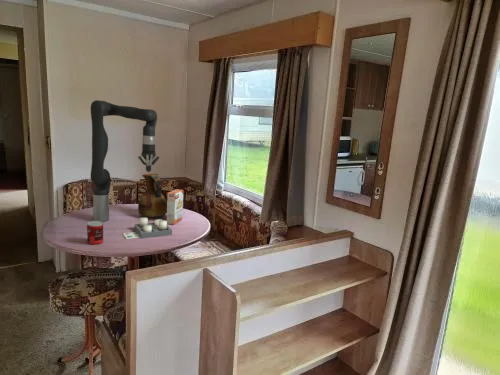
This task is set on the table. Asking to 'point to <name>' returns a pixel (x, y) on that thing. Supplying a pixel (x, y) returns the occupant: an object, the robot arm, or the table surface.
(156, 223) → the button
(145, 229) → the button
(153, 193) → the ceramic pitcher
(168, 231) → the board
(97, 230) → the canned food
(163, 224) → the button
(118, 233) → the table surface
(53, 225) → the table surface
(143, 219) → the button
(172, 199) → the cracker box
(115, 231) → the table surface
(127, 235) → the card
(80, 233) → the table surface
